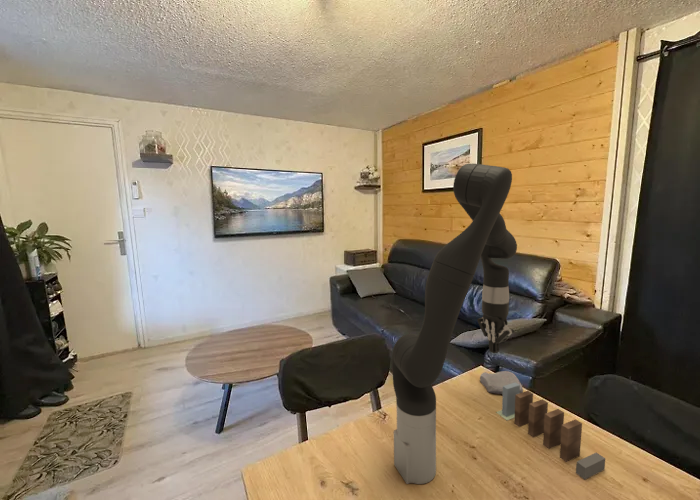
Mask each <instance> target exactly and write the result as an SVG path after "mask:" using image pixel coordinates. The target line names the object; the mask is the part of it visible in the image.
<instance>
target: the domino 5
mask: <svg viewBox="0 0 700 500" xmlns="http://www.w3.org/2000/svg"><path fill="white" fill-rule="evenodd" d="M582 430H583V422H581V421H579V420H577V419H575V418H574V419H572V420H571V421H568V422H564V424H562V428H561V444H560V445H559V446H560V448H559V459H561V460H562V461H564V463H568V462H570V461H572V460H574V459H576V458H578V457H580V456H581V444H582V443H581V442H582Z"/></svg>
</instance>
